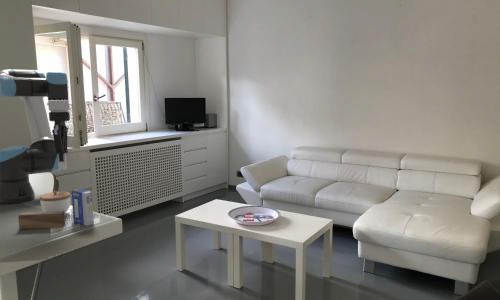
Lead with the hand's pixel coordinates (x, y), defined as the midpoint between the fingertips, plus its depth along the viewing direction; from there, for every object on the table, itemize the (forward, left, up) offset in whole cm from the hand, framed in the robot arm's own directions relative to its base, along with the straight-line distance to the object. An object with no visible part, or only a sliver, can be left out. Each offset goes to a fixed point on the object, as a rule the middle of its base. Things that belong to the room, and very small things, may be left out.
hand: (63, 169), depth 164 cm
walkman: (+24, +13, -16) cm, 32 cm away
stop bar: (+27, 0, -16) cm, 31 cm away
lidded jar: (+11, 0, -16) cm, 20 cm away
